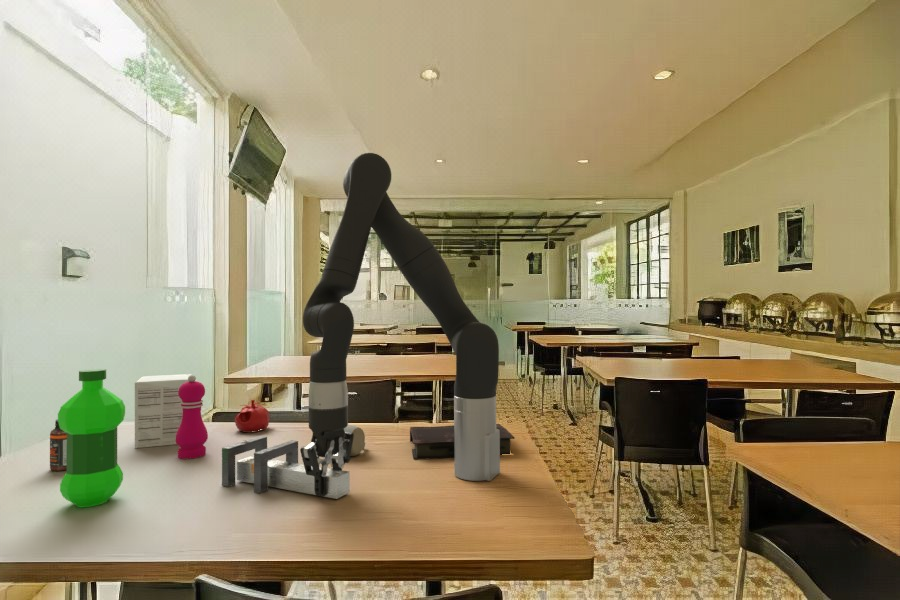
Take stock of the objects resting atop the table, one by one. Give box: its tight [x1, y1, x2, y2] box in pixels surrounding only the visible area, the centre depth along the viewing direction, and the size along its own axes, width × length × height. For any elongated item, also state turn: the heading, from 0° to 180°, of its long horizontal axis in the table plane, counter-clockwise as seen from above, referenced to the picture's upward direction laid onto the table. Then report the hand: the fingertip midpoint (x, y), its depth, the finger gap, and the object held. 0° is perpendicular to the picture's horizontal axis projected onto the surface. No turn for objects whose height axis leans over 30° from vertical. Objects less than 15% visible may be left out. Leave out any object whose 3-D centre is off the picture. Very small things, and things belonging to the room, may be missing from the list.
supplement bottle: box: [49, 418, 67, 472], centre depth 119 cm, size 6×6×11 cm
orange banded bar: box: [236, 455, 351, 500], centre depth 105 cm, size 26×4×4 cm, turn 65°
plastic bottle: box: [57, 368, 126, 508], centre depth 98 cm, size 10×10×25 cm
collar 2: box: [253, 439, 299, 494], centre depth 107 cm, size 2×11×8 cm, turn 154°
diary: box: [409, 423, 516, 460], centre depth 133 cm, size 19×25×5 cm
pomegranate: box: [234, 398, 270, 433], centre depth 155 cm, size 10×10×9 cm
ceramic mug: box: [344, 424, 366, 457], centre depth 130 cm, size 11×8×8 cm
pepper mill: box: [175, 374, 209, 460], centre depth 128 cm, size 7×7×20 cm
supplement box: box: [134, 373, 194, 449], centre depth 143 cm, size 13×13×18 cm
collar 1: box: [221, 435, 268, 488], centre depth 110 cm, size 2×11×8 cm, turn 154°
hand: (328, 491), depth 101 cm, fingers closed on orange banded bar, 4 cm apart
